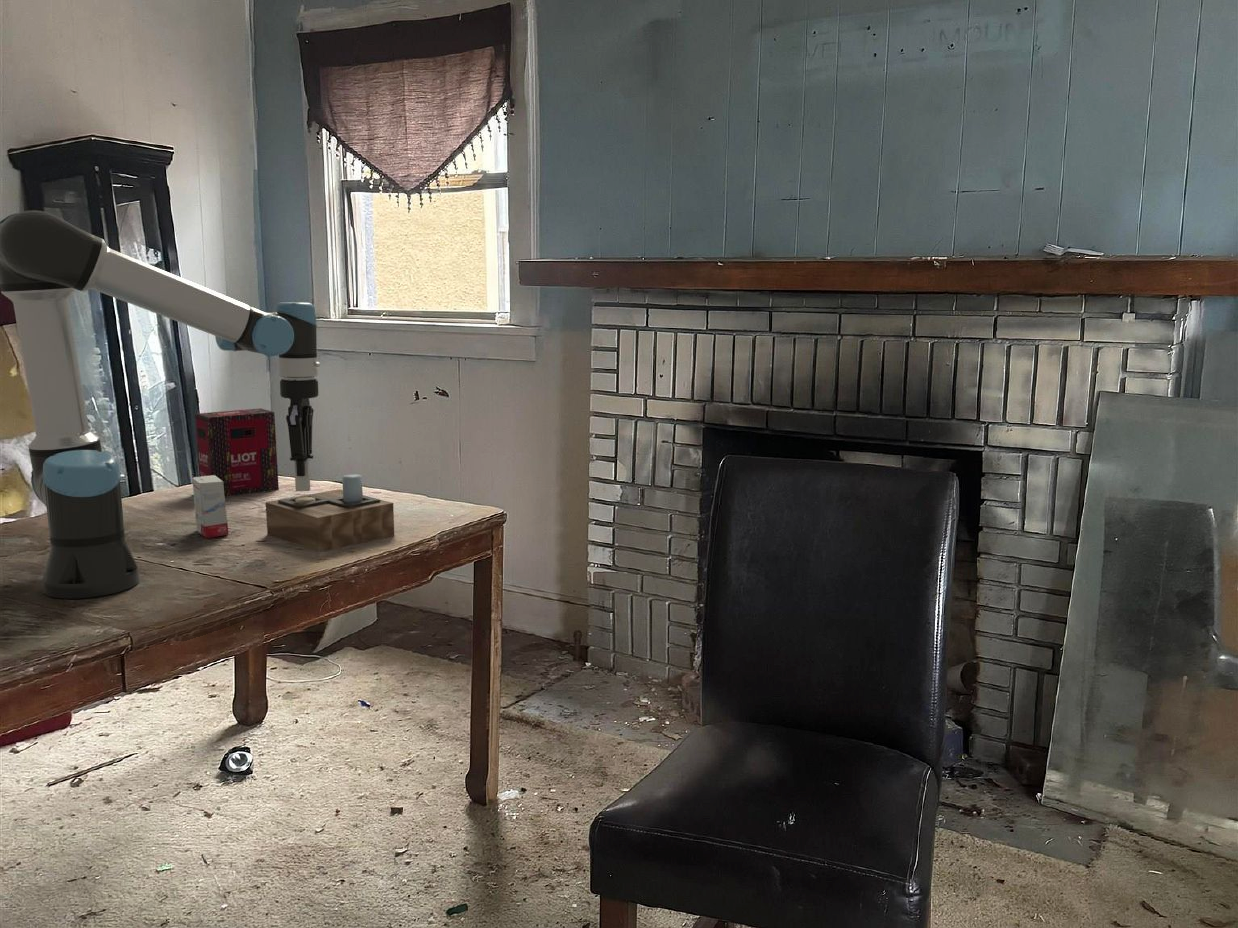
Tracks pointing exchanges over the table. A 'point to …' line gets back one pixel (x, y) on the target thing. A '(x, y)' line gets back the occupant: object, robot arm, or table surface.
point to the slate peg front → (352, 488)
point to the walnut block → (329, 520)
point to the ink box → (210, 506)
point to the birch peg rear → (305, 500)
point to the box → (238, 449)
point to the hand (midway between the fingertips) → (303, 490)
